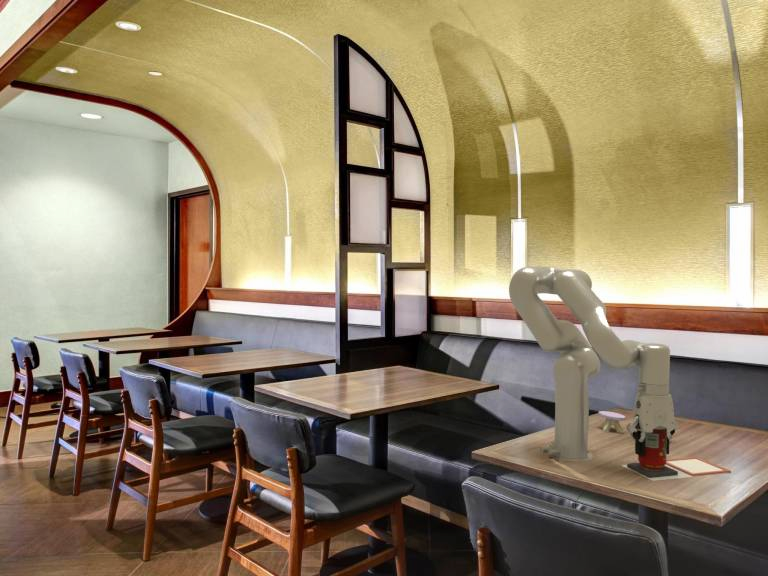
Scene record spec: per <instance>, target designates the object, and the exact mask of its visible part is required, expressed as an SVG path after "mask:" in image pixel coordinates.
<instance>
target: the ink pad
mask: <svg viewBox="0 0 768 576" xmlns="http://www.w3.org/2000/svg"><path fill="white" fill-rule="evenodd" d="M626 465H627V467H628V468H630V469H632V470H634V471H636V472H638V473H640V474H642V475H644V476H646V477H648V478H655V477H665V476H675V475H678V471H676V470H673V469H671V468H669V467H667V466H664V467H663V470H661V471H651V470H646V469H644V468H642V467H641V464H640V463H639V462H631V463H626ZM628 468H627V469H628ZM630 469H629V470H630ZM632 470H631V471H632ZM634 471H633V472H634ZM636 472H635V473H636ZM638 473H637V474H638ZM640 474H639V475H640ZM642 475H641V476H642ZM644 476H643V477H644ZM646 477H645V478H646ZM648 478H647V479H648Z"/></svg>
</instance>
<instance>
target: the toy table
mask: <svg viewBox="0 0 768 576" xmlns="http://www.w3.org/2000/svg"><path fill="white" fill-rule="evenodd" d="M598 416H599V417H601V418H605V420H604V421H603V422H602V423H600V425H599V427H601V429H602V432H603V433H608V432H607V431H609V432H610V430H611V427H612V426H613V427H614V430H615V431H616V432H617V433H619V432H620V434H625V430H624V428H623V427H622V426H621V424H620V422H619V421H621V422H622V421H625V420H626V419H627V418H626V415H625V414H621V413H617V412H615V411H607V410H605V411H604V410H599V411H598Z"/></svg>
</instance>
